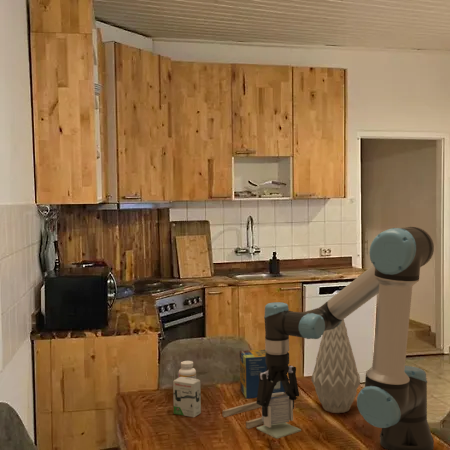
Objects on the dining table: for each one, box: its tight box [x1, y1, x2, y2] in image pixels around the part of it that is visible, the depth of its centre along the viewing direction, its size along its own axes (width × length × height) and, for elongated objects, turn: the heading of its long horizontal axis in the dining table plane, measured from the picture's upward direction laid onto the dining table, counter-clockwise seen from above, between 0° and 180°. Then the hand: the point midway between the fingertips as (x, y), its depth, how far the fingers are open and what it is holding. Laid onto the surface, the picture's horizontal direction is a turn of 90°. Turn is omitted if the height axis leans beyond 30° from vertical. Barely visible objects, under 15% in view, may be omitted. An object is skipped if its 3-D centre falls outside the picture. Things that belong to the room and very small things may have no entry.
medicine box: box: [261, 392, 290, 425], centre depth 186 cm, size 8×4×9 cm, turn 109°
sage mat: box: [256, 422, 302, 440], centre depth 185 cm, size 10×10×1 cm
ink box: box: [172, 376, 202, 418], centre depth 202 cm, size 9×5×12 cm, turn 62°
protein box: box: [239, 348, 286, 399], centre depth 222 cm, size 10×15×16 cm
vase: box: [311, 318, 361, 414], centre depth 202 cm, size 17×17×33 cm
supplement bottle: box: [178, 360, 197, 379], centre depth 220 cm, size 7×7×13 cm
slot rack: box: [221, 400, 264, 430], centre depth 197 cm, size 14×16×2 cm
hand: (278, 422), depth 185 cm, fingers closed on medicine box, 8 cm apart
